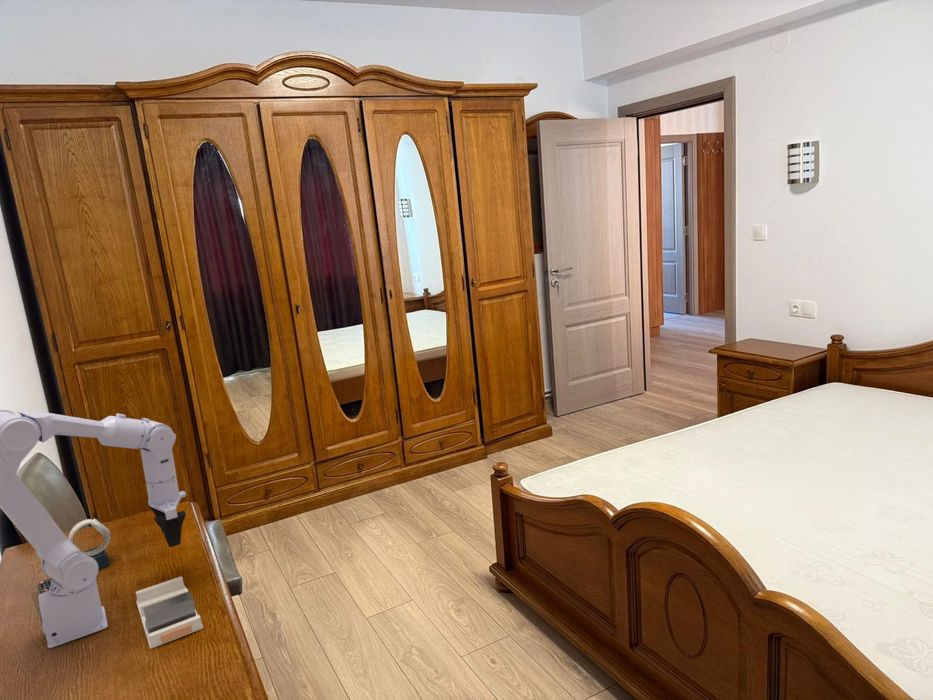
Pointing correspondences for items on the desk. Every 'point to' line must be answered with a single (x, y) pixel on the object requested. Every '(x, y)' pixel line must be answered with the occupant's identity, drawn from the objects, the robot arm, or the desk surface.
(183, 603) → the panel
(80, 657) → the desk surface
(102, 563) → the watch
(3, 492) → the robot arm
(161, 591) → the rack
